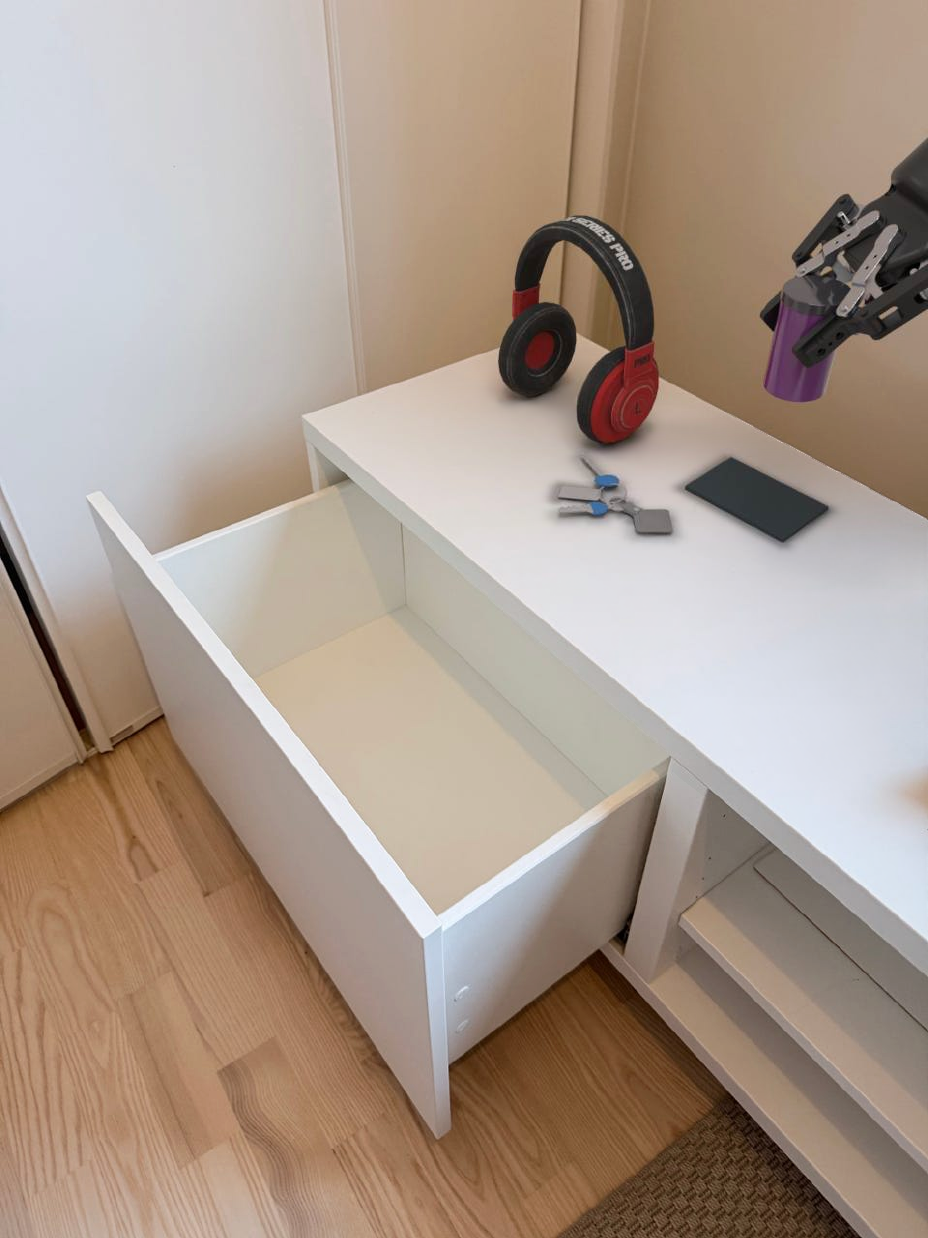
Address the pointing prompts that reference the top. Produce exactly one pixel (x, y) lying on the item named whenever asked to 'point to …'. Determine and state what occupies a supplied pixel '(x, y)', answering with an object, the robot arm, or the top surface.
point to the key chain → (643, 517)
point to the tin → (796, 317)
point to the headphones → (548, 336)
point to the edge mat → (757, 499)
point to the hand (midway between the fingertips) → (783, 340)
